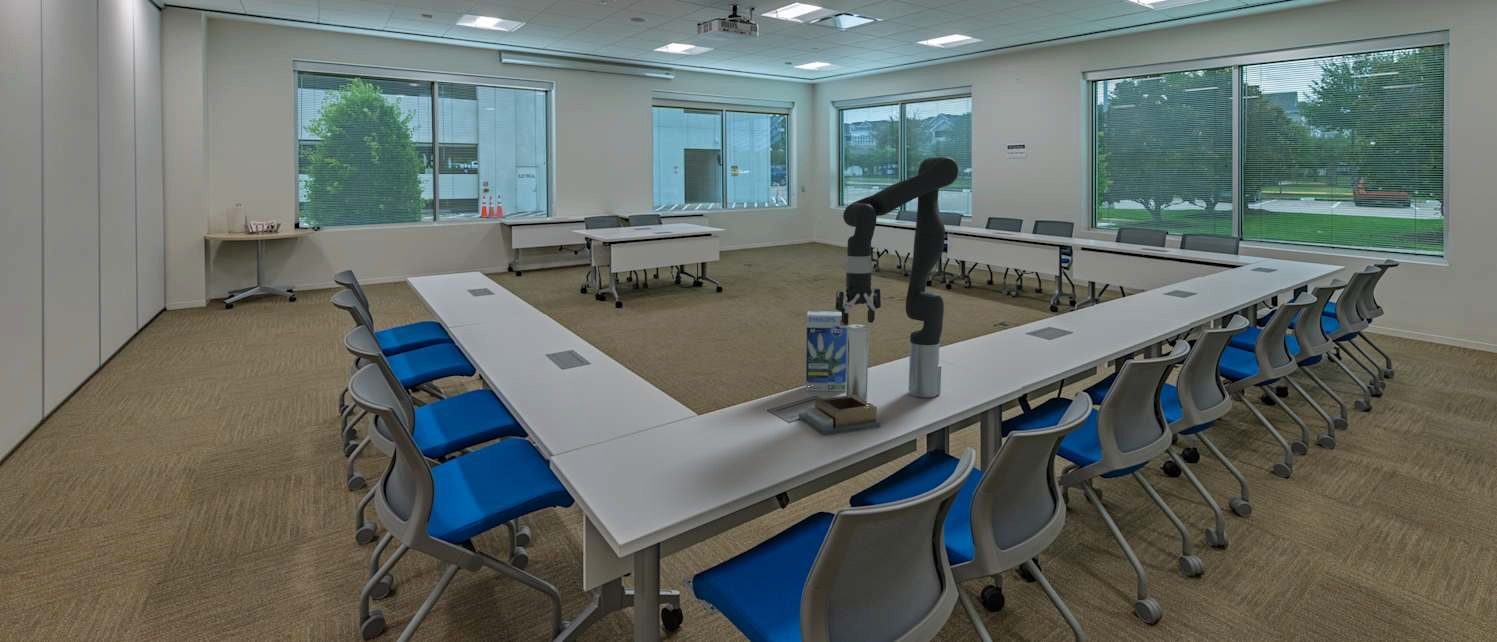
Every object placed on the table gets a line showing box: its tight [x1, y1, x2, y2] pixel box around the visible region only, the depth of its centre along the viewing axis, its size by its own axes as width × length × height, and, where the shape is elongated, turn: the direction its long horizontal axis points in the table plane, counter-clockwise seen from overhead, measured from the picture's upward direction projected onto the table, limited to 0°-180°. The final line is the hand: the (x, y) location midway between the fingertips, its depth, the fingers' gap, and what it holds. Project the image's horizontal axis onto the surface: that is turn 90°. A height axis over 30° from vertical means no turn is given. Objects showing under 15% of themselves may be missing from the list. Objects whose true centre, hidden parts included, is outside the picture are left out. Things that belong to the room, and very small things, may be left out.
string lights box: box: [805, 310, 848, 393], centre depth 243 cm, size 13×8×26 cm, turn 84°
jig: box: [798, 395, 882, 436], centre depth 211 cm, size 18×16×6 cm
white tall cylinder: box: [845, 323, 869, 402], centre depth 226 cm, size 6×6×25 cm
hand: (857, 323), depth 223 cm, fingers open, 8 cm apart
